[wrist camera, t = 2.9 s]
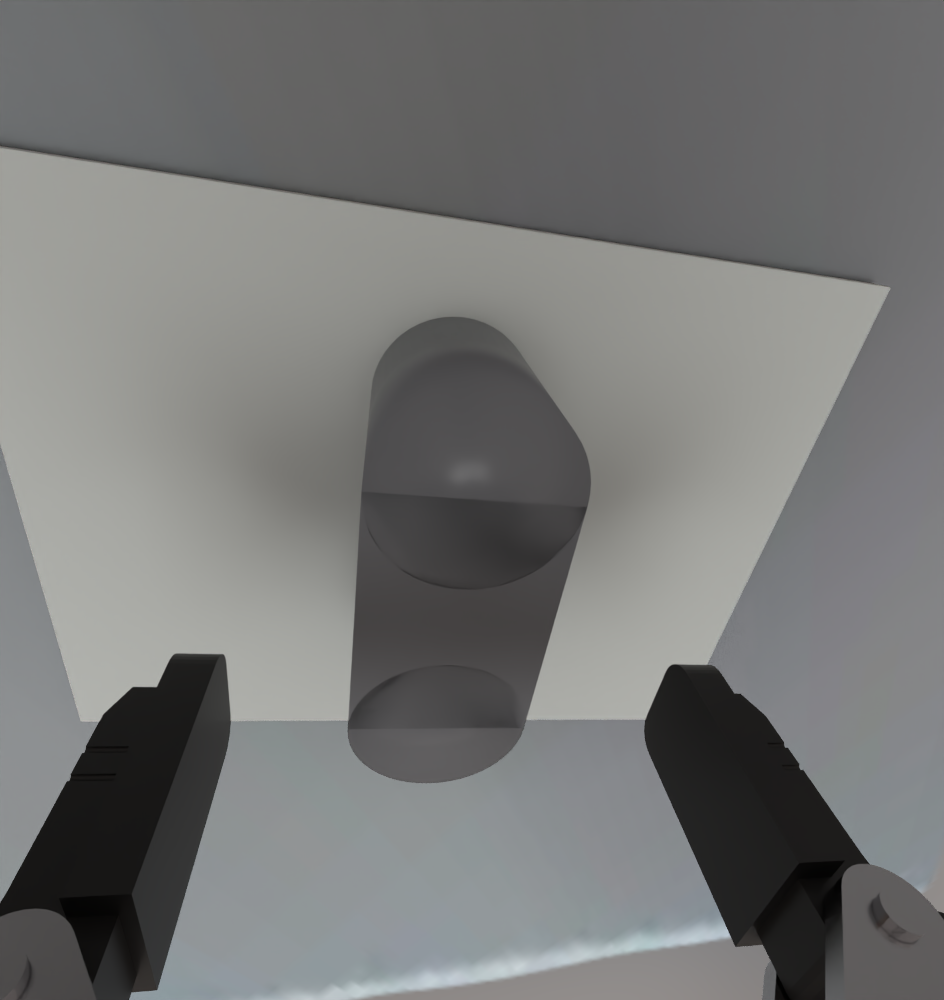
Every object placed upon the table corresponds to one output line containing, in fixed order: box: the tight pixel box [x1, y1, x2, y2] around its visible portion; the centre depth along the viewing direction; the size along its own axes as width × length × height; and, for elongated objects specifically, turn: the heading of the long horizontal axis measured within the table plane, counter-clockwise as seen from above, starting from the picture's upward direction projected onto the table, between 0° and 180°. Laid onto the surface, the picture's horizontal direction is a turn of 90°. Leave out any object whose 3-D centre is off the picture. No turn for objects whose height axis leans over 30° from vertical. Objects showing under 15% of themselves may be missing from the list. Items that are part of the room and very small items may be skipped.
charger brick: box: [348, 317, 591, 783], centre depth 14 cm, size 12×4×5 cm, turn 171°
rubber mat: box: [0, 146, 891, 722], centre depth 16 cm, size 16×21×1 cm
